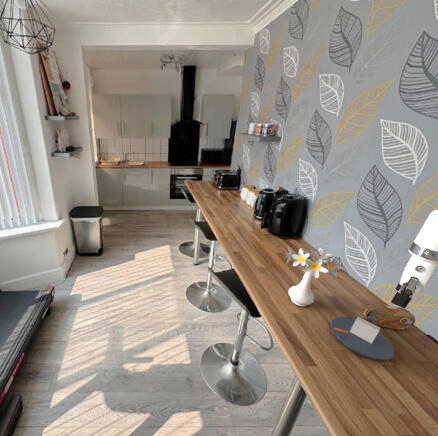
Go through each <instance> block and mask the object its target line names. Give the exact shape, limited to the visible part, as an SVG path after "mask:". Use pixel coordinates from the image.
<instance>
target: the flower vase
mask: <svg viewBox="0 0 438 436" xmlns="http://www.w3.org/2000/svg"><path fill="white" fill-rule="evenodd" d="M287 250H288V252H286V253H285V258H287V261H286V262H285V263H286V265H288V264H289V263H290V262H291V260H294V262H293V263H292V267H297V266H298V265H301V266H302V267H304V268H303V269H302V271H303V272H304V274H303V277H302V279H301V281H300V282H299V283H298V284H296V285H292V286H290V287H289V289H288V296H289V298H290V301H291V302H292V303H293V304H295V305H296V306H299V307H303V308H304V307H307V306H310V305H312V304H313V303H314V302H315V299H316V298H315V294H314V292H312V289H311V285H312V282H313V279H319V277H320V273H325V274H327V275H328V274H332V275H333V276H334V278H338V271H337V270H342V269H343V265H342V264H341V263H340V264H339V263H337V262H338V256H335V255H334V254H333V253H325V251H324V249H323V248H321V247H319V248H318V252H317V251H316V250H315V248H312V249H310V250H309V252H304V249H302V248H299V249H298V253H297V254H295V253H294V252H293V250H292V249H291V247H290V246H289V245H288V246H287ZM322 265H323V266H322ZM305 266H306V267H305ZM324 266H325V267H324ZM326 267H327V268H326Z"/></svg>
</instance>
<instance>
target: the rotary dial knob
mask: <svg viewBox="0 0 438 436" xmlns="http://www.w3.org/2000/svg"><path fill="white" fill-rule="evenodd" d="M330 329H331V332H332V334H333V335H334V336H335V338H336V339H337V340H338V341H339V342H340V343H341V344H342V345H343V346H346V348H348V349H350V350H351V351H352V352H354V353H356V354H357V355H359V356H362V357H364V358H367V359H369V360H373V361H376V362H377V361H378V362H387V361H388V362H389V361H390V360H392V359H393V358H394V357H395V348H394V346H393V344H392V343H391V342H390V340H389V339H388V338H387V337H386V336H385V335H384V334H382V333H381V332H380V331H381V327H380V326H376V325H374V324H372V323H370V322H368V321H367V320H366V319H365V318H362V317H360V316H357V317H356V318H352V317H347V316H337V317H335V318H333V319H331V322H330Z"/></svg>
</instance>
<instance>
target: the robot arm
mask: <svg viewBox="0 0 438 436" xmlns="http://www.w3.org/2000/svg"><path fill="white" fill-rule="evenodd" d="M407 252H408V253H409V254H410V255H411V256H410V259H409V260H408V262H407V264H406V265H405V267H404V269H403V272H402V274H401V277H400V281H398V284H397V285H396V287H395V290H396V292H395V294H394V296H393V297H392V299H391V301H390V303H391V304H393V305H395V306H396V307H400V308H404V309H407V307H408V305H409V303H410V302H411V301H412V300H413V296H414V294H415V292H418V293H419V294H422V293H424V291H425V290H426V288H427V286H428V284H429V283H430V281H431V280H432V278H433V276H434V275H435V273H436V271H437V269H438V209H435V210H433V211H431V212H430V214H429V215H428V216H427V218H426V220H425V222H424V223H423V225H422V226H421V229H419V232H418V234H417V235H416V237H415V238H414V240H413V243H411V246H410V247H409V249H408V251H407Z"/></svg>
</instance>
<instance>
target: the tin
mask: <svg viewBox="0 0 438 436" xmlns="http://www.w3.org/2000/svg"><path fill="white" fill-rule="evenodd" d="M362 315H363V318H364V320H366V321H368V322H370V323H372V324H374V325H376V326H378V327H380V328H381V327H382V328H387V329H391V330H398V331H401V330H402V331H404V330H407V329H410V328H412V327H413V326H414V325H415V323H416V317H415V315H414V314H413V313H411V312H410V311H409V310H407V308H402V307H400V306H394V305H386V304H380V303H372V304H370V305H367V306H366V307H365V308H364V309H363V312H362Z"/></svg>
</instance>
